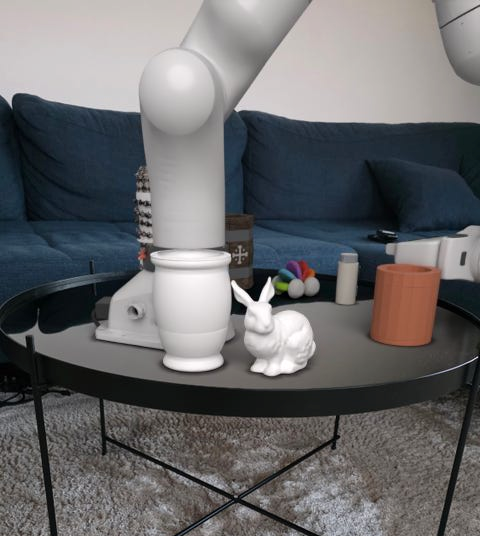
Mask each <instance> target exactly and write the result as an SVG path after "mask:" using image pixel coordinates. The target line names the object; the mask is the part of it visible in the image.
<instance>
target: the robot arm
mask: <svg viewBox="0 0 480 536" xmlns="http://www.w3.org/2000/svg"><path fill="white" fill-rule="evenodd" d="M430 1H431V3H432V4H433V8H434V13H435V18H436V21H437V25H438V30H439V33H440V37H441V38H440V39H441V41H442V42H441V43H442V46H443V49H444V52H445V55H446V57H447V61H448V62H449V64H450V66H451V68H452V70H453V72H454V74H455V75H456V76H457V77H458V78H460V79H461V80H463V81H464V82H466V83H468V84H471V85H474V86H477V87H480V0H430ZM312 2H313V0H203V1H202V4H201V6H200V7H199V9H198V11H197V13H196V15H195V17H194V19H193V21H192V23H191V25H190V27H189V28H188V29H187V32H186V34H185V36H184V37H183V39H182V41H181V43H180V44H179V46H177V47H176V46H174V47H170V48H166V49H164V50H162V51H159V52H158V53H157V54H155V55H154V56H153V57H151V58H150V60H149V61H148V62H147V63H146V65H145V67H144V69H143V70H142V72H141V75H140V78H139V84H138V103H139V112H140V122H141V131H142V132H141V133H142V138H143V149H144V156H145V165H146V166H147V171H148V177H149V185H150V197H151V216H152V236H153V244H151V245H150V246H149V247H147V248H145V249H144V250H142V251H139V252H137V254H138V255H139V256H138V258H137V260H139V261H140V260H141V259H143V268H144V269H143V270H142V271H141V270H140V271H139V272H138V273H137V274H136V275H135V276H133V277H132V278H130V280H129V281H127V282H126V283H125V284H124V285H123V286H121V287H120V288H119V289H118V290H117V291H116V292H114V294H113V295H112V296H103V297H101V298H100V299H99V300H98V301H97V302H95V303H94V306H95V307H94V308H93V310H92V311H91V313H90V314H91V315H90V317H91V320H92V323H93V324H94V325H95V332H94V335H95V336H94V337H95V339H97V340H100V341H107V342H114V343H118V344H119V343H120V344H125V345H126V344H127V345H132V346H140V347H145V348H152V349H157V350H164V348H163V346H162V344H161V341H160V338H159V335H158V330H157V324H156V320H155V316H154V311H153V302H152V285H153V276H154V272H155V265H154V264H153V263H152V262H151V255H150V254H151V253H153V252H157V251H164V250H173V249H208V250H217V251H223V252H227V253H228V246H227V245H226V244H225V213H226V184H225V183H226V181H225V179H226V178H225V139H224V137H225V133H224V132H225V129H224V125H225V123H226V121H227V120H228V119H229V118H230V116H231V114H232V113H233V112H234V110H235V109H236V108H237V106H238V104H239V103H240V102H241V100H242V99H243V97H244V96H245V95H246V93H247V92H248V90H249V89H250V88H251V86H252V85H253V83H254V82H255V81H256V79H257V78H258V76H259V75H260V73H261V71H262V70H263V69H264V67H265V66H266V64H267V62H269V60H270V59H271V57H272V56H273V54H274V53H275V52H276V50H277V49H278V48H279V46H280V45H281V44H282V42H283V41H284V40H285V38H286V37H287V36H288V34H289V33H290V32H291V30H292V29H293V28H294V26H295V25H296V23H298V21H299V20H300V18H301V17H302V15H303V14H304V13H305V11H306V10H307V9H308V7H309V6H310V5H311V4H312ZM385 254H387V255H391V256H394V260H393V261H394V264H411V265H420V266H432V267H436V268H438V269H440V270H441V277H440V280H442V281H443V280H445V281H461V282H466V283H473V284H480V225H469V226H467V227H465V228H464V229H462V230H460V231H458V232H456V233H454V234H450V235H445V236H437V237H430V238H420V239H416V240H408V241H400V242H397V243H396V242H389V243H386V245H385ZM227 270H228V273H229V264H228V265H227ZM98 319H102V320H103V319H104V320H105V319H106V321H104V322H102V323H100V322H99V321H98ZM235 336H236V330H235V328H234V323H233V319H232V314H230V318H229V322H228V331H227V336H226V340H225V342H227V341H230V340H231V339H233V338H234V337H235Z"/></svg>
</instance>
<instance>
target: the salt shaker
mask: <svg viewBox="0 0 480 536" xmlns="http://www.w3.org/2000/svg"><path fill="white" fill-rule="evenodd" d="M358 259H359V254H358V253H354V252H342V253H340V256H339V261H338V262H337V273H336V285H335V286H336V287H335V301H334V302H335V303H336V304H338V305H343V306H344V305H346V306H348V305H349V306H351V305H354V304H356V300H357V299H356V298H357V288H358V277H359V265H360V263H359V262H358Z"/></svg>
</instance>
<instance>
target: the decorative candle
mask: <svg viewBox="0 0 480 536" xmlns="http://www.w3.org/2000/svg"><path fill="white" fill-rule="evenodd" d="M134 176H135V178H136V183H135V184H136V191H135V198H133V203H134V204H136V205H137V206H135V207H134V208H133V213H135V215H136V216H135V217H134V218H133V220H134V221H135V223H136V224H138V226H137V227H136V228H135V233H136V234H137V236H136V241H137V242H139V244H140V246H139V252H141V251H142V250H144V249H145V248H147V247H149V246H150V245H151V244H153V236H152V216H151V197H150V185H149V177H148V171H147V165H141V166H140V167H139V168H138V170H137V172H136V173H135V174H134ZM138 269H139V271H140V272H141V271H142V270H143V269H144V268H143V259H141V260H139V265H138Z"/></svg>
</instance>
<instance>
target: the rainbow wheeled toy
mask: <svg viewBox="0 0 480 536" xmlns="http://www.w3.org/2000/svg"><path fill="white" fill-rule="evenodd" d="M277 274H278V275H276V276H274V277H273V278H272V279H271V283H272V285H273V288H274V294H276V295H282V294H284V293H285V292H287V293H288V296H289V297H290V298H291V299H293V300H295V299H299V298H301V297H302V296H303V295H305V296H306V297H313V296H316V295H317V294H318V293H319V291H320V286H321V285H320V282H319V280H318V279H317V278H316V277H315V276H316V271H315V270H314V269H313V268H309V264H308V262H306V260H299V261H295V260H293V259H292V260H289V261H288V262H287V263H286V265H285V268H279V270H278V271H277Z"/></svg>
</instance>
